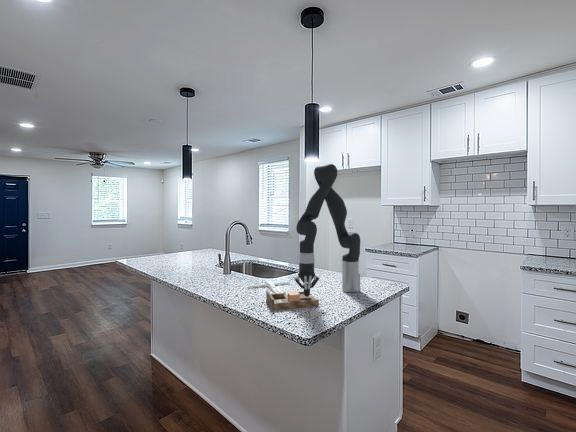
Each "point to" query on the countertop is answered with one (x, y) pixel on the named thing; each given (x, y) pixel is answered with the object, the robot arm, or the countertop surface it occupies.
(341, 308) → the countertop surface
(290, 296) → the block
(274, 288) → the articulated figure
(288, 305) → the brown wooden compartment frame
